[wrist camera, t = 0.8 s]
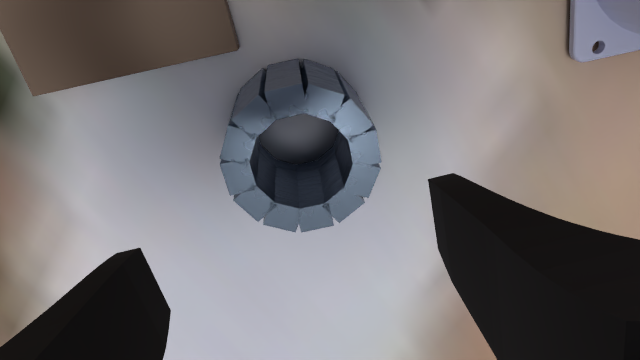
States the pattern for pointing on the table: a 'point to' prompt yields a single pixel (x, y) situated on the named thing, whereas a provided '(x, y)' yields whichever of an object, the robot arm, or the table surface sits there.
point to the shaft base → (110, 37)
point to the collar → (307, 178)
